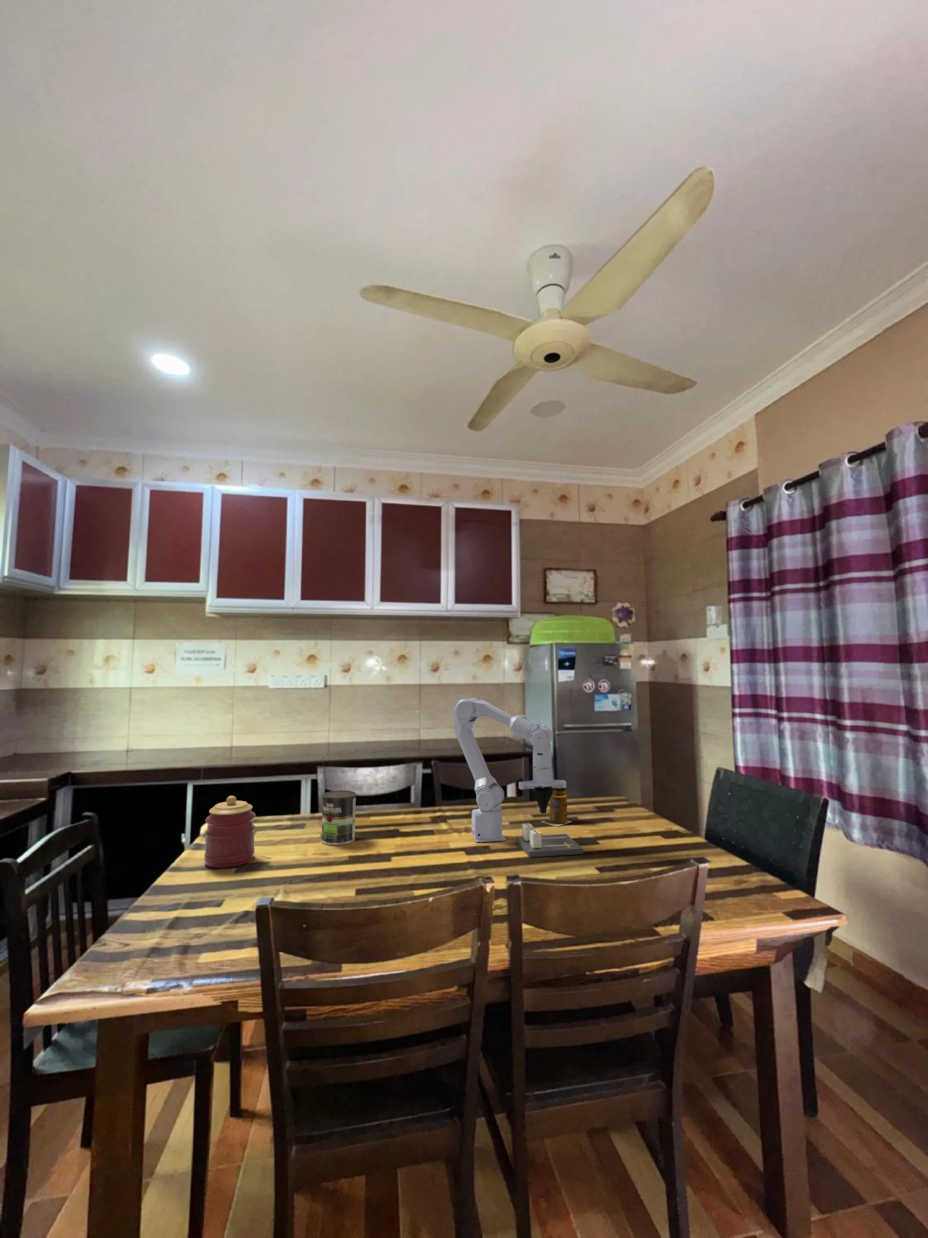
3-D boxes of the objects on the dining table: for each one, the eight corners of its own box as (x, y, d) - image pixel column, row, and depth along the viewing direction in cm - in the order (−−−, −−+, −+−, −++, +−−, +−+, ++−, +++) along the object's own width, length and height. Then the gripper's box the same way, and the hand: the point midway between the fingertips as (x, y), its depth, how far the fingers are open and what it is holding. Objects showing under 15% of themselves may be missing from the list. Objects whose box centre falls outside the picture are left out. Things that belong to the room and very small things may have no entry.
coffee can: (343, 847, 166) (343, 799, 167) (314, 843, 169) (315, 796, 171) (361, 837, 175) (362, 791, 176) (334, 833, 179) (335, 789, 180)
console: (529, 857, 156) (529, 851, 157) (516, 841, 170) (516, 836, 170) (583, 854, 159) (582, 848, 159) (566, 838, 173) (566, 833, 173)
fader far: (525, 840, 165) (525, 826, 166) (522, 837, 169) (522, 823, 169) (533, 840, 166) (533, 826, 166) (529, 836, 169) (529, 823, 170)
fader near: (533, 848, 159) (533, 833, 159) (530, 844, 162) (529, 830, 162) (541, 847, 159) (541, 833, 159) (537, 844, 162) (537, 829, 163)
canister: (243, 849, 164) (244, 788, 165) (262, 860, 155) (264, 795, 156) (196, 860, 155) (199, 796, 156) (214, 873, 146) (216, 804, 147)
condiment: (572, 822, 191) (571, 786, 192) (557, 827, 185) (557, 790, 186) (555, 818, 197) (554, 783, 198) (540, 822, 191) (540, 787, 192)
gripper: (522, 770, 164) (523, 817, 163) (569, 768, 167) (570, 815, 166) (516, 766, 171) (517, 811, 170) (561, 764, 174) (562, 808, 173)
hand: (542, 812), depth 168 cm, fingers closed
